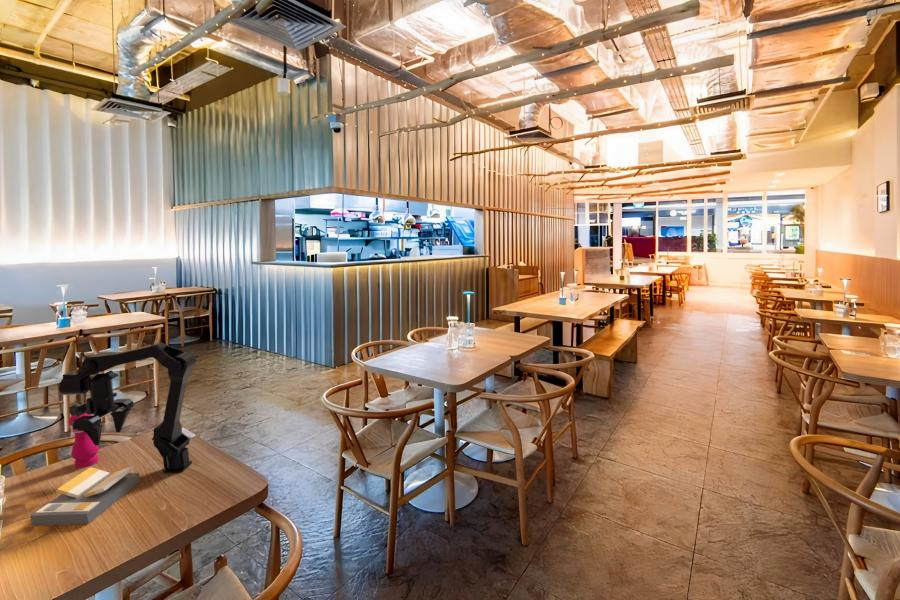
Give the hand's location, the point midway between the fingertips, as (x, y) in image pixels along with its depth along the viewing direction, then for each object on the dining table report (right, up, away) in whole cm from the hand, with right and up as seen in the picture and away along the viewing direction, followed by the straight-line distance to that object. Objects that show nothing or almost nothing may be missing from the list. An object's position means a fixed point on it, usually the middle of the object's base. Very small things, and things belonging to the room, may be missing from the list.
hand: (108, 438), depth 142 cm
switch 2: (+10, -10, -12) cm, 18 cm away
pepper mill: (-14, -11, +8) cm, 20 cm away
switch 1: (+2, -10, -12) cm, 15 cm away
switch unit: (+6, -14, -14) cm, 21 cm away
